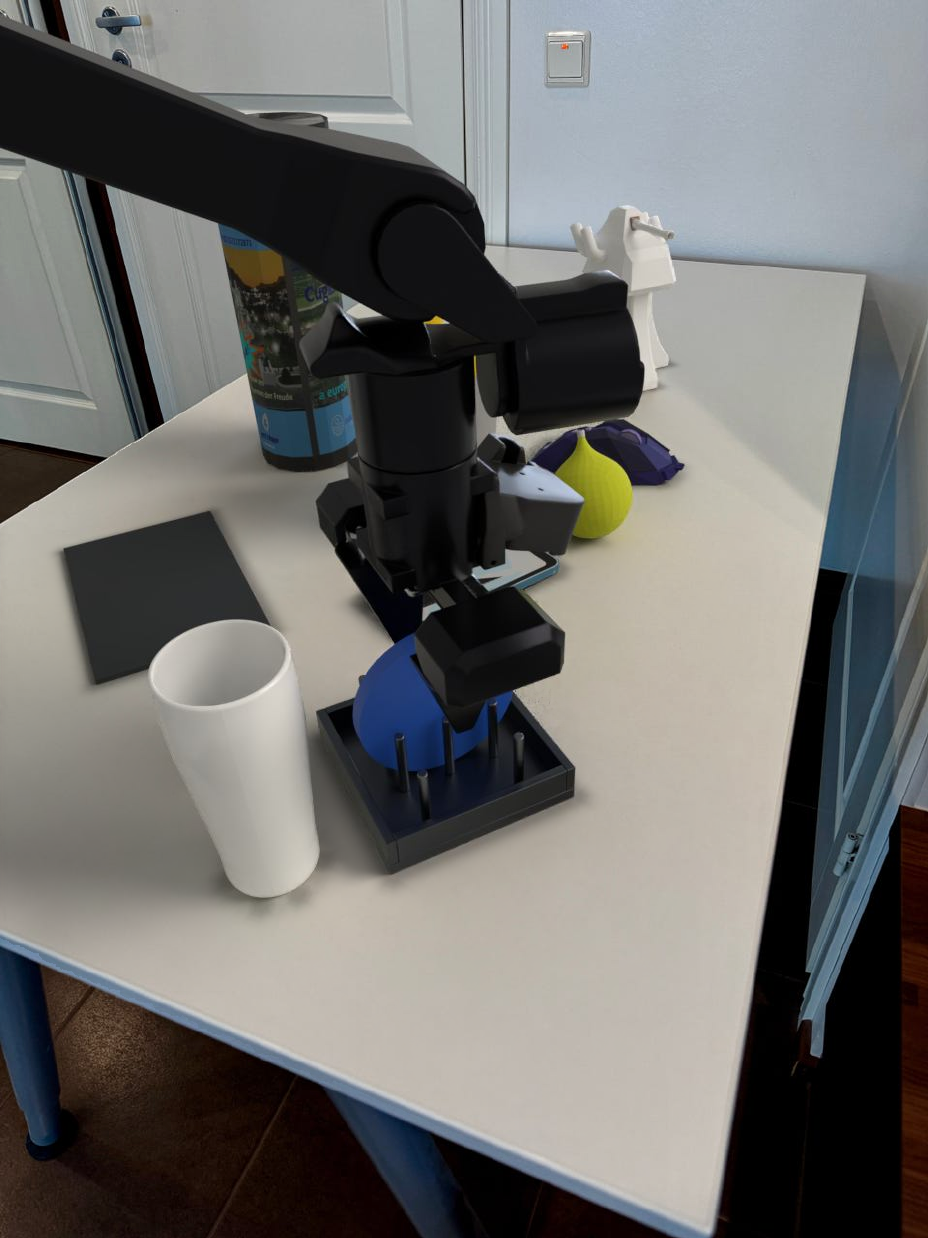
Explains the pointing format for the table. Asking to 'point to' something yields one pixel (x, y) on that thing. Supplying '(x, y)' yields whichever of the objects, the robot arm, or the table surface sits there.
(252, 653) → the drinking glass
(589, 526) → the green fig
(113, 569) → the mat
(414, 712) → the plate
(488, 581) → the smartphone
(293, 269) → the advertising column
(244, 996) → the table surface
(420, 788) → the rack
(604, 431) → the computer mouse
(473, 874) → the table surface
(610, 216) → the toy gun turret
